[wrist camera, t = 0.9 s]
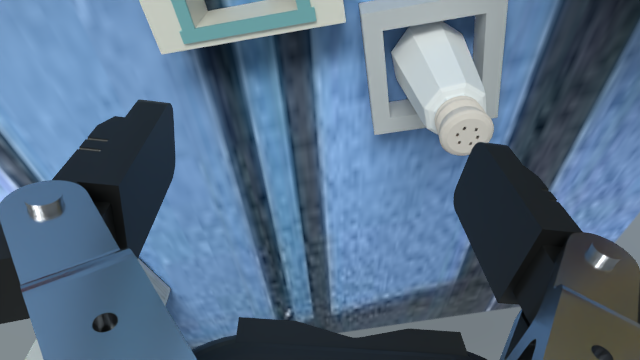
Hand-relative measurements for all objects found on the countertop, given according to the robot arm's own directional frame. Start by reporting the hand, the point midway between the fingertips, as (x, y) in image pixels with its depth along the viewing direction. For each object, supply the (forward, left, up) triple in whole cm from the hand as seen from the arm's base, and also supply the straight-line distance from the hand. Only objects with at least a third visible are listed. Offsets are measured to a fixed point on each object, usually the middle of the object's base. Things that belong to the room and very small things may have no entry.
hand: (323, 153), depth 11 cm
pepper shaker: (-6, +7, -21) cm, 23 cm away
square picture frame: (-6, +7, -21) cm, 23 cm away
